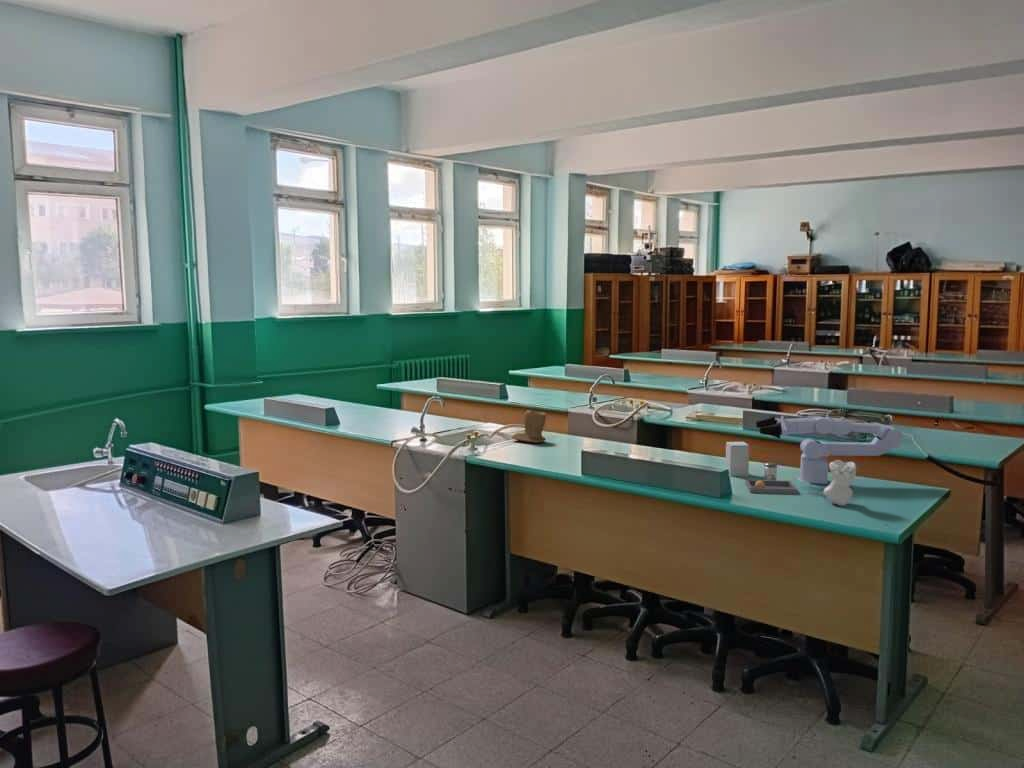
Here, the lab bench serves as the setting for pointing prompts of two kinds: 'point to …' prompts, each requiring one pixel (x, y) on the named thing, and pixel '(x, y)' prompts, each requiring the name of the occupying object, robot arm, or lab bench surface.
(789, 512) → the lab bench surface
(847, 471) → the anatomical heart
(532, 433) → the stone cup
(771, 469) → the shaker
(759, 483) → the ball
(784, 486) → the tray
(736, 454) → the supplement box
